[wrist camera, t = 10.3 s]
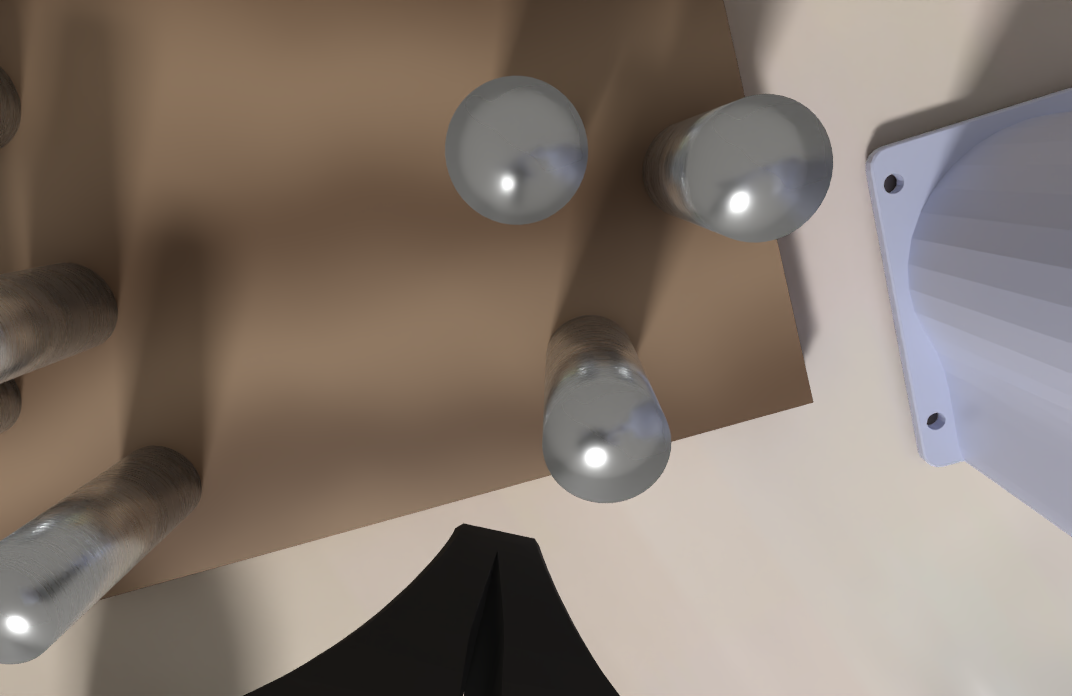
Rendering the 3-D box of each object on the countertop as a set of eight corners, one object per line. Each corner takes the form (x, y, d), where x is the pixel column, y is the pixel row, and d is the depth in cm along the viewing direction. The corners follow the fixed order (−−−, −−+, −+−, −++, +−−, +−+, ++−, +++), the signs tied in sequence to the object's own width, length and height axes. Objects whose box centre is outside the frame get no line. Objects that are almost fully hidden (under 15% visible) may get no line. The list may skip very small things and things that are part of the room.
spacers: (781, 346, 18) (887, 429, 12) (29, 561, 21) (-178, 717, 15) (652, -211, 15) (714, -448, 9) (-220, 117, 17) (-607, 92, 12)
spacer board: (794, 385, 20) (813, 402, 19) (75, 586, 22) (43, 615, 21) (655, -222, 16) (664, -260, 15) (-192, 98, 19) (-254, 91, 17)
